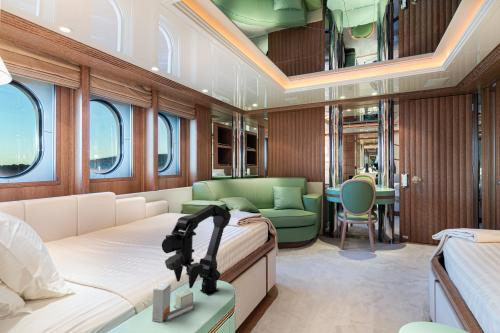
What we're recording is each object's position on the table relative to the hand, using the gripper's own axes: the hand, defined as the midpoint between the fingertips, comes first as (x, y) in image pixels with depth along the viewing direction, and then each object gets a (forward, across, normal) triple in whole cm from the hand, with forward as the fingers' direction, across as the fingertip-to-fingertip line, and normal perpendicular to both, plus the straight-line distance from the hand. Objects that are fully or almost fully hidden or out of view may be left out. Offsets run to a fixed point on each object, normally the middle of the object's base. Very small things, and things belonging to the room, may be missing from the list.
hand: (184, 284), depth 108 cm
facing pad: (+9, 0, 0) cm, 9 cm away
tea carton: (+9, 0, 0) cm, 9 cm away
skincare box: (+9, +1, -11) cm, 14 cm away
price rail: (+9, +4, -5) cm, 11 cm away
